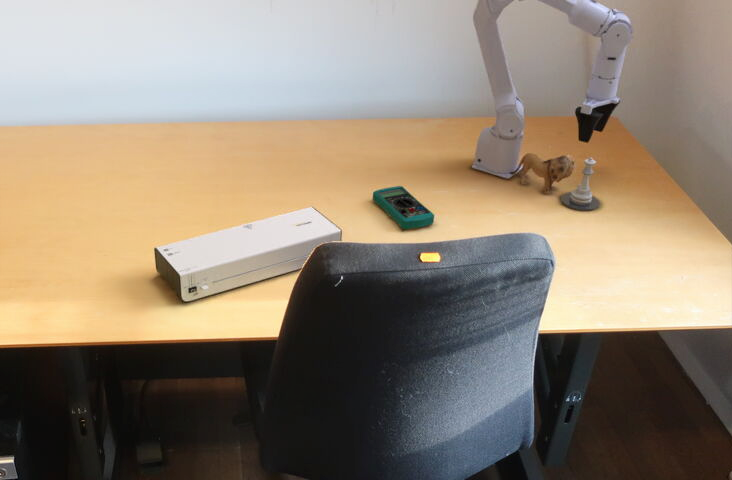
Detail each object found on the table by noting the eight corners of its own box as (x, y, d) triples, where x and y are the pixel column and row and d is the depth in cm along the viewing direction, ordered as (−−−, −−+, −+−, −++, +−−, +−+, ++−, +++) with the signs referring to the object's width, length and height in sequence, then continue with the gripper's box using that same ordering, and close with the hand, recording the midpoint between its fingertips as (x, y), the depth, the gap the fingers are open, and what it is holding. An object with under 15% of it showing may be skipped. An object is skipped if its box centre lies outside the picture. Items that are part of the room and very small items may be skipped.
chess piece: (574, 205, 184) (585, 162, 178) (567, 196, 187) (577, 153, 181) (594, 204, 184) (605, 161, 178) (586, 195, 187) (597, 152, 181)
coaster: (554, 203, 185) (554, 201, 185) (570, 190, 190) (570, 188, 190) (590, 214, 181) (590, 212, 181) (604, 201, 186) (605, 199, 186)
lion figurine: (572, 192, 190) (582, 154, 184) (561, 200, 187) (570, 162, 181) (514, 172, 198) (521, 135, 192) (502, 180, 195) (509, 142, 189)
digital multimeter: (403, 232, 175) (405, 219, 173) (371, 201, 186) (372, 188, 184) (435, 226, 177) (437, 213, 175) (401, 195, 188) (402, 183, 186)
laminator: (310, 233, 174) (311, 205, 171) (343, 260, 166) (345, 232, 162) (156, 275, 161) (153, 246, 157) (183, 307, 153) (181, 278, 149)
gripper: (610, 88, 175) (594, 151, 183) (636, 70, 184) (620, 130, 192) (577, 80, 178) (563, 142, 187) (605, 62, 187) (590, 122, 196)
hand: (590, 135), depth 190 cm, fingers open, 7 cm apart
